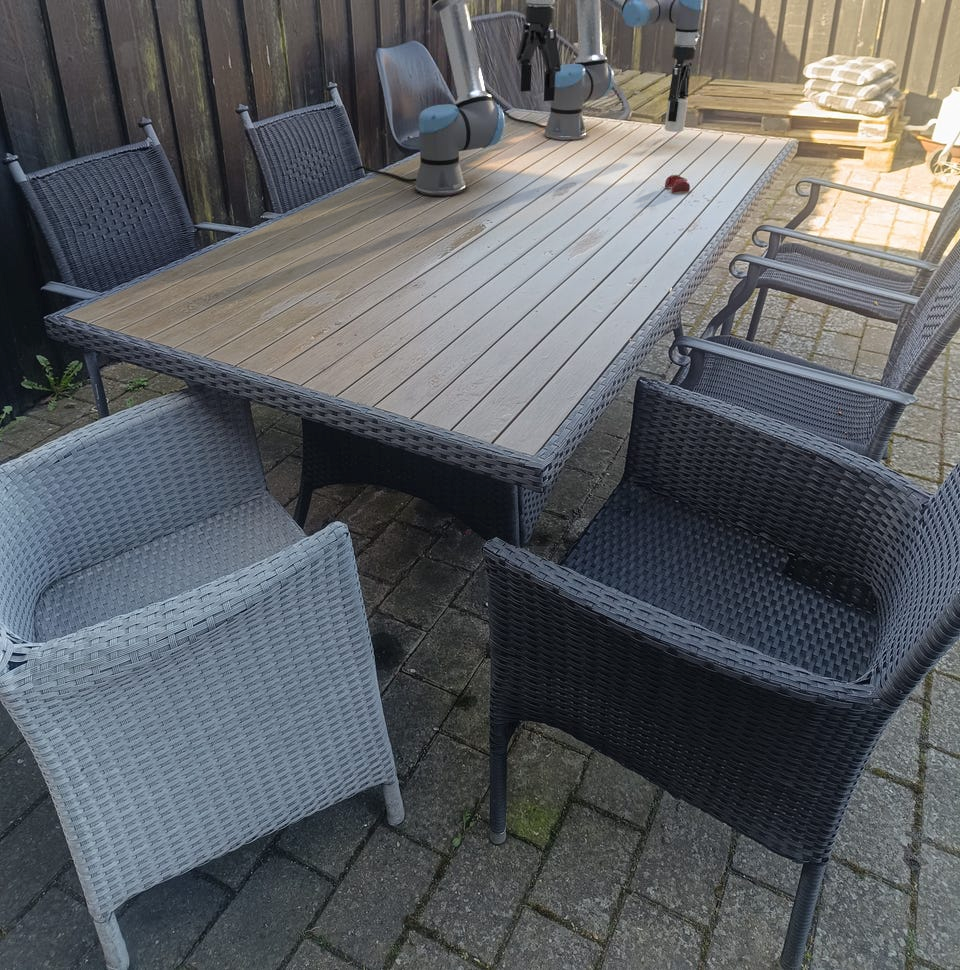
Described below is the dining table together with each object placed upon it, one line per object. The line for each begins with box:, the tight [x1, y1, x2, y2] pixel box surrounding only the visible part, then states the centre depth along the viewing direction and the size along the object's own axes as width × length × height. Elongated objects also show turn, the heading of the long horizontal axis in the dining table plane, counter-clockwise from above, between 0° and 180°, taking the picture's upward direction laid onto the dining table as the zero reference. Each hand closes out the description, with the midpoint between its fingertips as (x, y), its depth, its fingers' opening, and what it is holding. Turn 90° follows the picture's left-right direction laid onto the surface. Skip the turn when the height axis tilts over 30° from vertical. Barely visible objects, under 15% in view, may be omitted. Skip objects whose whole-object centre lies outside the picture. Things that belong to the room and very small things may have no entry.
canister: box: [664, 98, 689, 133], centre depth 293 cm, size 7×7×10 cm
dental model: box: [664, 174, 691, 193], centre depth 257 cm, size 6×4×8 cm
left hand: (537, 95), depth 226 cm, fingers open, 13 cm apart
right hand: (675, 119), depth 293 cm, fingers closed on canister, 7 cm apart
